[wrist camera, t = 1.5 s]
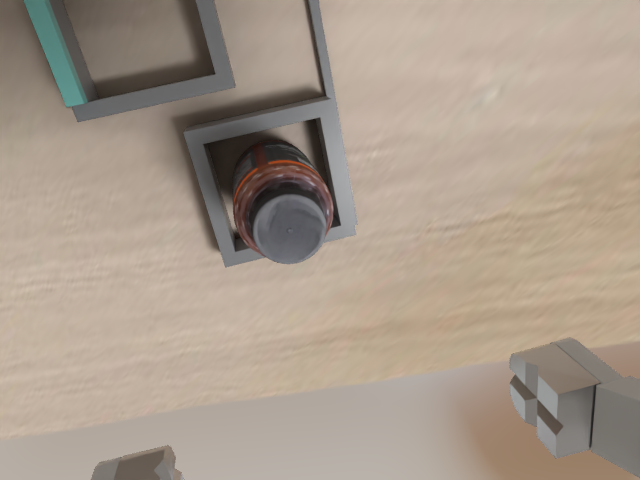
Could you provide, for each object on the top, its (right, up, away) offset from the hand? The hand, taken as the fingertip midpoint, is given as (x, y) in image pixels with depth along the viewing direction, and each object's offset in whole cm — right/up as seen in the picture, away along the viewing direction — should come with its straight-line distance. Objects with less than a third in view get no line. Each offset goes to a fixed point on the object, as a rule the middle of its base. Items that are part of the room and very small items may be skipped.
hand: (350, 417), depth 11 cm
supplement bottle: (-4, +9, +24) cm, 26 cm away
